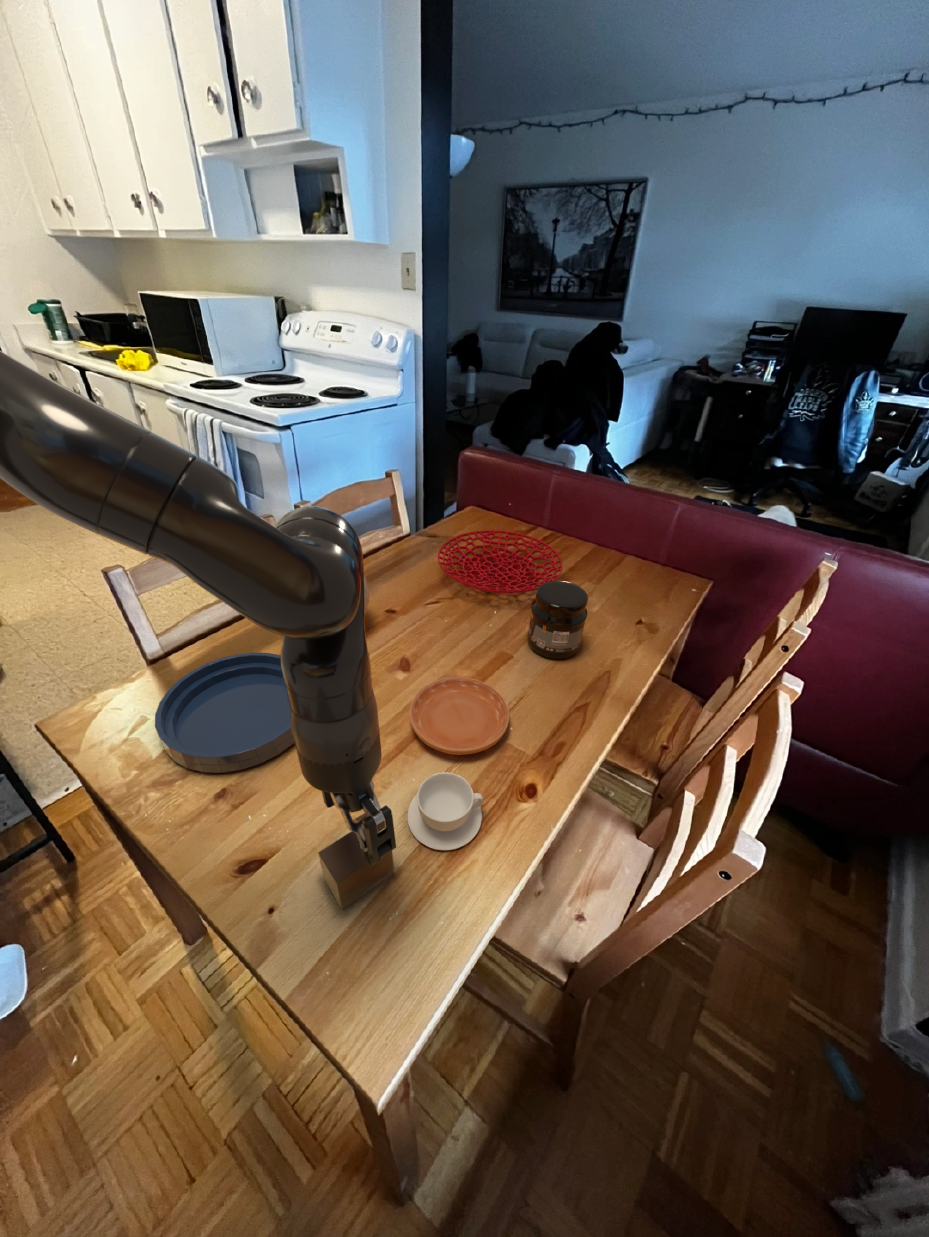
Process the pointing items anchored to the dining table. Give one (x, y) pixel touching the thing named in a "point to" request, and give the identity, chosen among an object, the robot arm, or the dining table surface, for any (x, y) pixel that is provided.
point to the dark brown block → (351, 870)
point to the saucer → (459, 715)
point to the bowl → (499, 563)
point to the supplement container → (557, 619)
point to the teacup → (445, 812)
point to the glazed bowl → (226, 714)
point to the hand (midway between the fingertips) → (353, 829)
